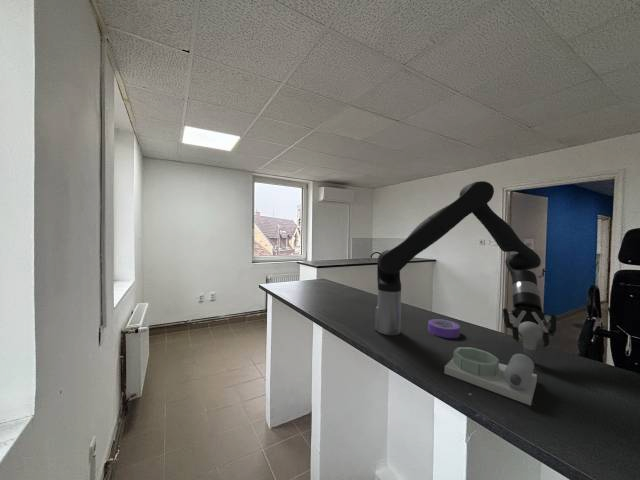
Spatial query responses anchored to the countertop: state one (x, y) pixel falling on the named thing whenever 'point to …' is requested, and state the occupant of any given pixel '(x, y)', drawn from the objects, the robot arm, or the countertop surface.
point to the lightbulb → (530, 336)
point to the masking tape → (444, 328)
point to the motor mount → (495, 373)
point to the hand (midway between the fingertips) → (530, 342)
